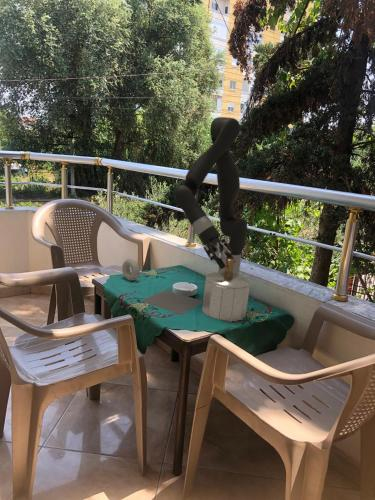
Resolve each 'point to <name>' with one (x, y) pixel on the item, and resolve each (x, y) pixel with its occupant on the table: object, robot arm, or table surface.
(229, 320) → the cylinder
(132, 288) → the table surface
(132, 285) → the table surface
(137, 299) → the table surface
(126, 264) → the donut
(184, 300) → the mat
